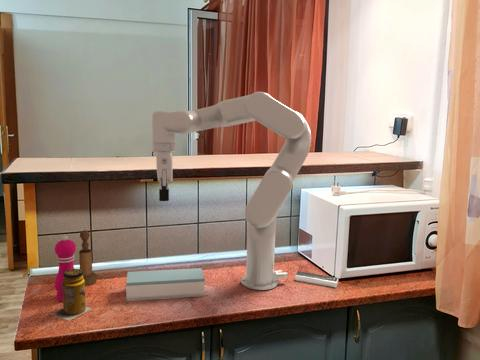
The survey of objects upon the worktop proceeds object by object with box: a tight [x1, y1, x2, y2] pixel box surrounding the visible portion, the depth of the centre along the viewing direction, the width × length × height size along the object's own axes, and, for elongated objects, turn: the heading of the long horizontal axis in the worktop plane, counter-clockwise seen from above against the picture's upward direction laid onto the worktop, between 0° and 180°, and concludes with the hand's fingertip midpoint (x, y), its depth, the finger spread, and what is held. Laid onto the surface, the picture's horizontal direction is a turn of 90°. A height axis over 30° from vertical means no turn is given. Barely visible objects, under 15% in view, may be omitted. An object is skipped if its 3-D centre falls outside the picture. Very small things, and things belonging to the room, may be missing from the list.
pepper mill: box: [53, 234, 77, 303], centre depth 129 cm, size 7×7×20 cm
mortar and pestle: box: [78, 229, 97, 287], centre depth 141 cm, size 7×6×18 cm
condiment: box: [51, 268, 93, 322], centre depth 121 cm, size 7×8×12 cm
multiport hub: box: [294, 270, 339, 288], centre depth 148 cm, size 4×14×2 cm, turn 68°
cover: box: [125, 267, 206, 286], centre depth 135 cm, size 24×9×1 cm, turn 102°
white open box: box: [125, 280, 206, 302], centre depth 136 cm, size 24×9×5 cm, turn 102°
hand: (164, 200), depth 146 cm, fingers closed
